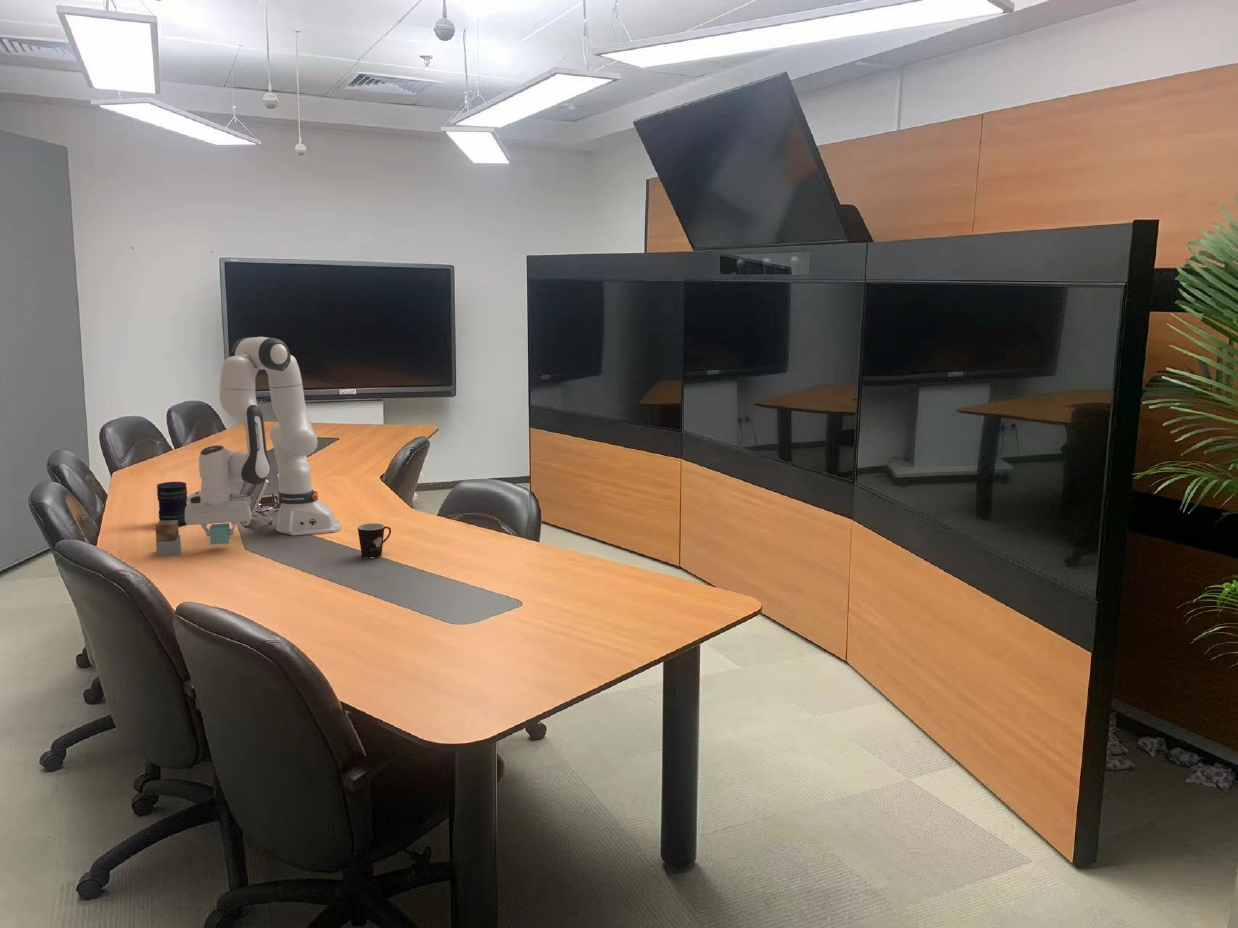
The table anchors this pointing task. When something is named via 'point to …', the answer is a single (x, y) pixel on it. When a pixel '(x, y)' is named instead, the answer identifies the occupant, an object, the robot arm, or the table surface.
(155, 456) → the table surface
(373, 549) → the coffee mug
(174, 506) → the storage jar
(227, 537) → the teal cube
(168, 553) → the grey base block
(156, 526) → the walnut cube
